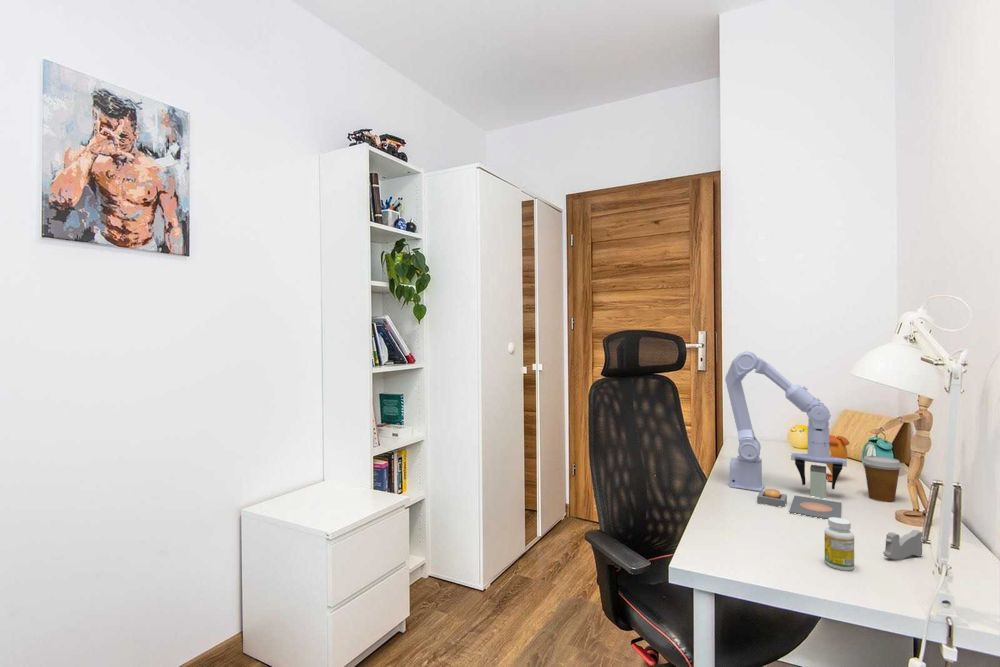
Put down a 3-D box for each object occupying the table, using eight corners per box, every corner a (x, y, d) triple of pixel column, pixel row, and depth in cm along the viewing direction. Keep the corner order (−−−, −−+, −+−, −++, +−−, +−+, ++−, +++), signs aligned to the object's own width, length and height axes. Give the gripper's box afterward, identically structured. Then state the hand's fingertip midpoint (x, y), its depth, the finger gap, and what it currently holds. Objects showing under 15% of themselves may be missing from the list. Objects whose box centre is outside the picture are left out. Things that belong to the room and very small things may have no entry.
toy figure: (818, 474, 182) (818, 432, 182) (844, 477, 179) (844, 434, 179) (825, 483, 171) (825, 438, 171) (854, 486, 168) (853, 440, 168)
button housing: (757, 503, 150) (757, 496, 150) (760, 497, 156) (760, 490, 156) (784, 507, 146) (784, 500, 146) (786, 501, 152) (786, 494, 152)
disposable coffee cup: (896, 496, 157) (896, 457, 157) (905, 505, 148) (905, 464, 148) (859, 492, 161) (859, 454, 161) (866, 501, 152) (866, 460, 152)
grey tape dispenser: (922, 557, 114) (888, 561, 111) (915, 554, 115) (881, 559, 112) (922, 531, 114) (888, 535, 111) (915, 529, 115) (882, 533, 112)
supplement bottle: (852, 573, 105) (852, 527, 105) (822, 565, 109) (822, 520, 109) (855, 564, 109) (855, 519, 110) (826, 557, 113) (826, 514, 113)
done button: (763, 498, 150) (763, 491, 150) (765, 494, 154) (765, 488, 154) (779, 500, 148) (779, 493, 148) (780, 497, 151) (780, 490, 152)
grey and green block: (810, 496, 157) (810, 467, 157) (811, 493, 160) (811, 464, 160) (825, 498, 154) (825, 469, 154) (826, 495, 158) (826, 466, 158)
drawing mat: (788, 513, 142) (788, 511, 142) (794, 496, 156) (794, 494, 156) (840, 522, 135) (840, 520, 135) (841, 503, 150) (841, 502, 150)
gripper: (846, 442, 156) (846, 487, 156) (792, 437, 165) (792, 479, 165) (846, 446, 151) (846, 492, 151) (790, 441, 159) (790, 484, 159)
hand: (818, 486), depth 157 cm, fingers open, 7 cm apart
